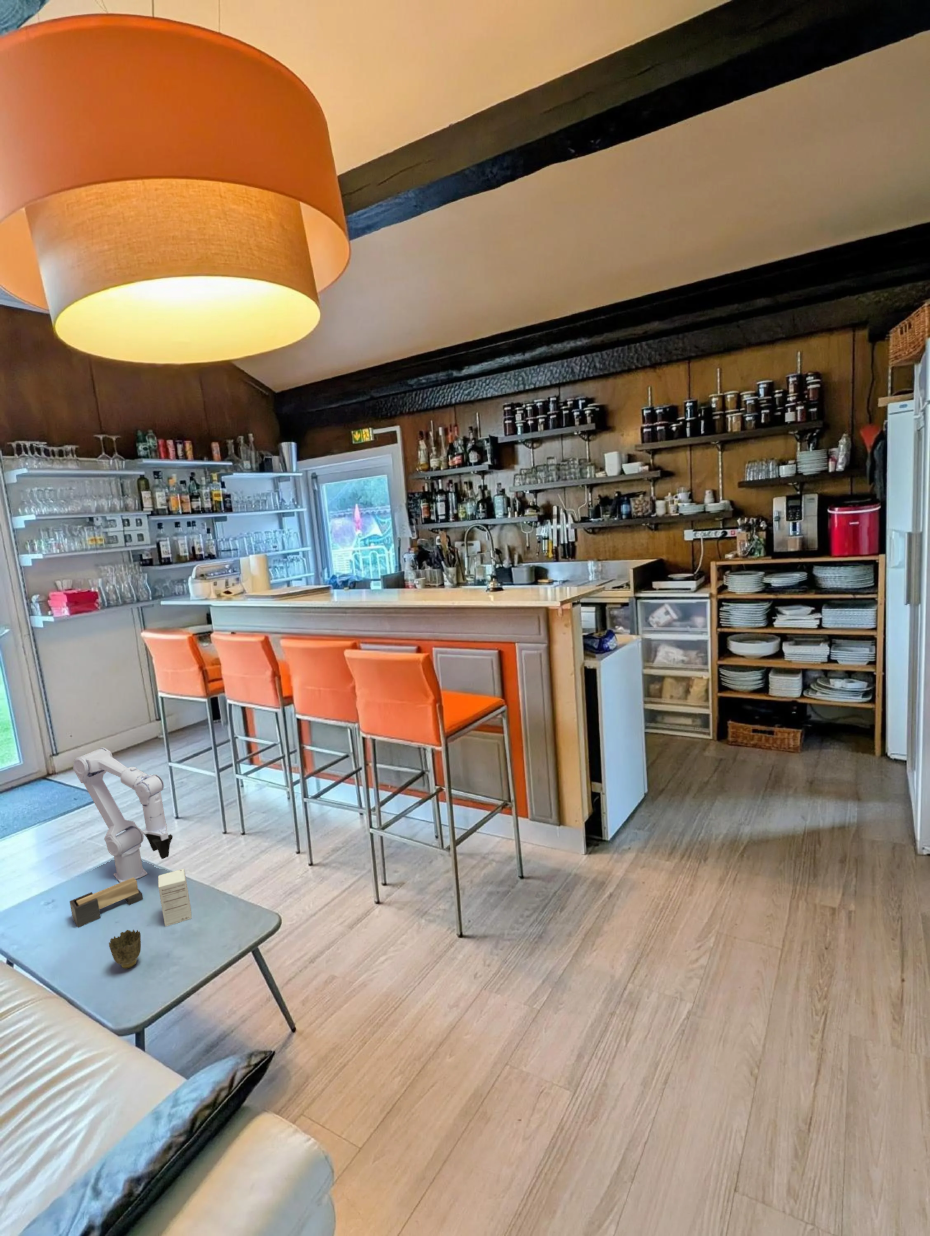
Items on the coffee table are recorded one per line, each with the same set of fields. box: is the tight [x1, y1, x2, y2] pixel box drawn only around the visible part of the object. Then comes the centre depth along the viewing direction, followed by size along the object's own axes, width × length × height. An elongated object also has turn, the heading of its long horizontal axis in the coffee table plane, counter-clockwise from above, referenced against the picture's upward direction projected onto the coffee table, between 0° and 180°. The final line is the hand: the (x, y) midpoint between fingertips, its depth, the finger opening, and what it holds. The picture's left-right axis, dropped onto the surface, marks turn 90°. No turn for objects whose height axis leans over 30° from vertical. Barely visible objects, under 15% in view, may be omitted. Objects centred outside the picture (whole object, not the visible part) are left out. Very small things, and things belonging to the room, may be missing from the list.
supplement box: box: [157, 868, 192, 927], centre depth 189 cm, size 7×7×13 cm
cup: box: [108, 929, 142, 970], centre depth 169 cm, size 8×7×8 cm
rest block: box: [124, 888, 144, 906], centre depth 201 cm, size 6×4×2 cm, turn 44°
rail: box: [76, 877, 139, 910], centre depth 196 cm, size 3×16×4 cm, turn 134°
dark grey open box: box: [69, 891, 101, 928], centre depth 192 cm, size 6×6×6 cm
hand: (160, 853), depth 207 cm, fingers open, 7 cm apart
